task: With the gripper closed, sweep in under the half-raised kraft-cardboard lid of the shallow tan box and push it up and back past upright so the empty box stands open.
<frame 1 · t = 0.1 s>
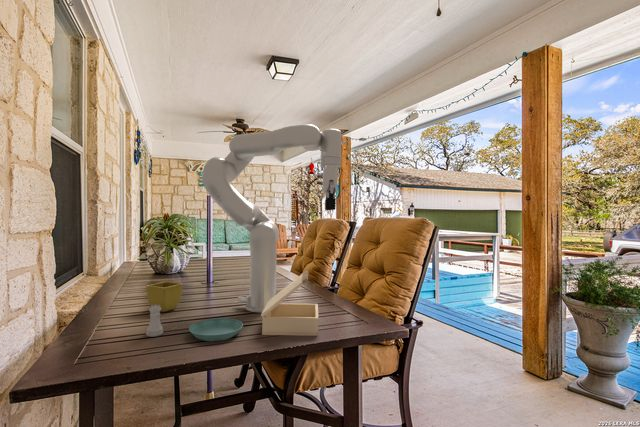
hand: (329, 209, 127), 37 cm above the table, tool pointing down, fingers open, 9 cm apart
box lid: (286, 291, 107), point 11 cm above the table, hinge at 40.0°, touching cardboard box
saucer: (216, 335, 98), on the table
cardboard box: (291, 326, 107), on the table
flower pot: (164, 310, 122), on the table
rook chess piece: (154, 335, 97), on the table
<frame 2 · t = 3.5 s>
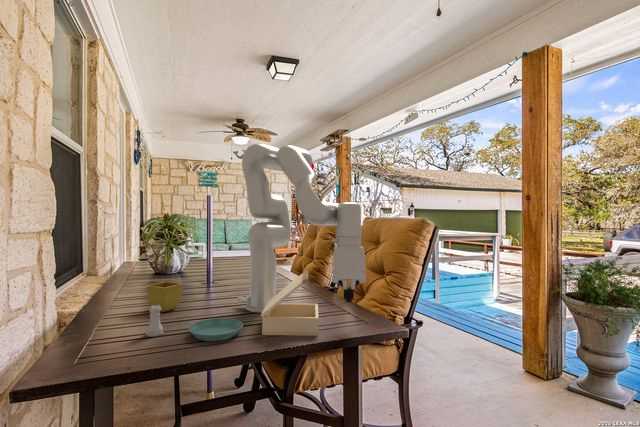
hand: (348, 301, 107), 8 cm above the table, tool pointing down, fingers closed
nothing on the table moved.
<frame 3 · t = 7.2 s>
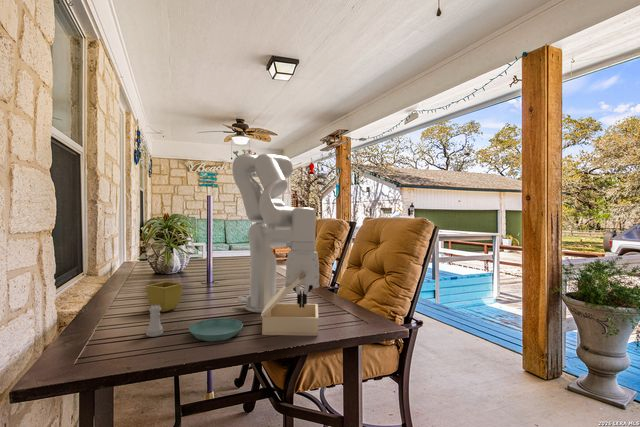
hand: (301, 306, 107), 6 cm above the table, tool pointing down, fingers closed
box lid: (284, 290, 107), point 11 cm above the table, hinge at 44.4°, touching gripper
everything else where it was.
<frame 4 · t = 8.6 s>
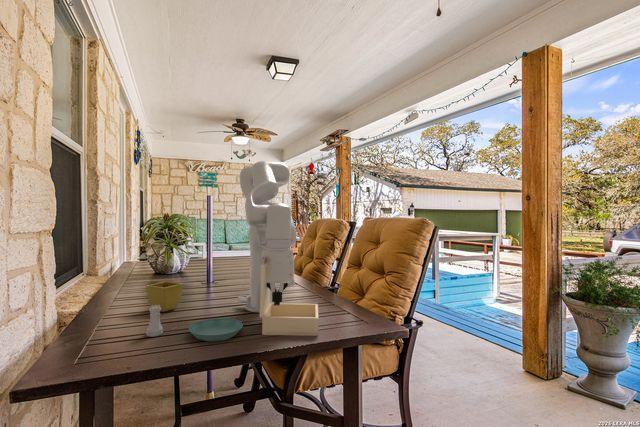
hand: (277, 304, 106), 7 cm above the table, tool pointing down, fingers closed
box lid: (265, 282, 106), point 13 cm above the table, hinge at 89.5°, touching gripper
everything else where it was.
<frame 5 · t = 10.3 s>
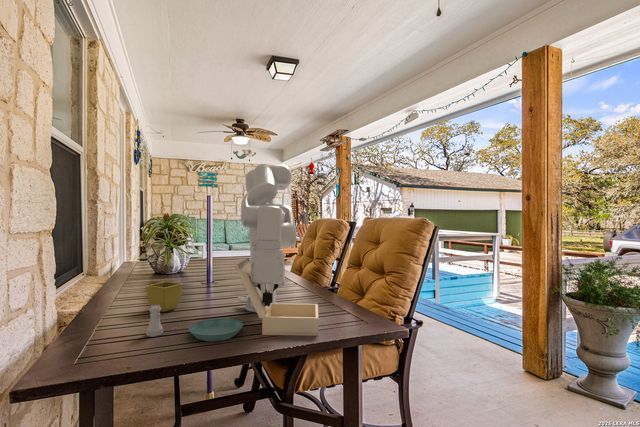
hand: (267, 305, 106), 6 cm above the table, tool pointing down, fingers closed
box lid: (253, 286, 106), point 12 cm above the table, hinge at 116.6°, touching cardboard box
everything else where it was.
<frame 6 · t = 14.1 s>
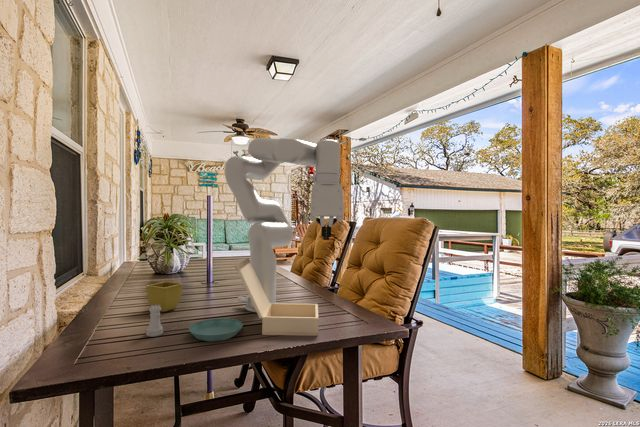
hand: (326, 239, 107), 27 cm above the table, tool pointing down, fingers closed
nothing on the table moved.
at the end: box lid at +117° (first picture: +40°) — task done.
